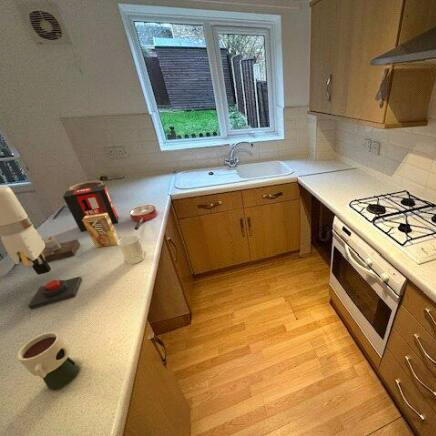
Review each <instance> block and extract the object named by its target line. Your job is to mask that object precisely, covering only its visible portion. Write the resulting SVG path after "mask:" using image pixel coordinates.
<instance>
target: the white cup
mask: <svg viewBox="0 0 436 436" xmlns="http://www.w3.org/2000/svg"><path fill="white" fill-rule="evenodd" d="M116 245H117V246H118V249H119V250H120V252H121V254H122V255H123V257H124V259H125V261H126V263H128V265H129V264H130V265H133V264H138V263H141V262H142V261H143V260H144V259H145V253H144V248H143V245H142V241H141V239H140V236H139V235H138V234H130V235H125V236H123V237H121V238H119V240H118V242H117V244H116Z"/></svg>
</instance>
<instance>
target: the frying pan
mask: <svg viewBox="0 0 436 436" xmlns="http://www.w3.org/2000/svg"><path fill="white" fill-rule="evenodd" d="M129 215H130V219H131V220H132V221H133V222H136V225H135V227H134V230H135V231H139V229H140V227H141V225H142V223H143V222H147V221H151V220H153V219H154V218H156V217H157V215H158V212H157V209H156V207H155V205H148V204H147V205H140V206H137V207H135V208H132V209H131V210H130V211H129Z"/></svg>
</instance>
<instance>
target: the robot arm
mask: <svg viewBox="0 0 436 436" xmlns="http://www.w3.org/2000/svg"><path fill="white" fill-rule="evenodd" d="M0 240H1V242H2V244H3V247H4V249H5V250H6V253H7V254H8V256H9V257H10V258H11V260H12V261H13V263H14V264H15V265H20V264H21V263H23V265H24V267H25V268H28V267H32V269H33V270H34V271H35V273H36V275H38V276H39V275H44V274H49V273H50V272H51V270H52V268H51V266H50V264H49V262H47V261H46V260H45V256H44V254H43V250H44V248H45V243H44V241H43V240H44V239H43V238H42V236H41V235H40V234H39V232H38V230H37V229H36V228H35V227H34V224H33V222H32V220H31V218H30V217H29V216H28V214H27V212H26V211H25V208H24V206H22V204H21V202H20V201H19V199H18V198H17V196H16V194H15V193H14V191H13V189H12V188H11V187H9V186H8V185H5V184H0Z"/></svg>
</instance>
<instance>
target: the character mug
mask: <svg viewBox="0 0 436 436" xmlns="http://www.w3.org/2000/svg"><path fill="white" fill-rule="evenodd" d="M70 354H71V351H70V348H69V346H68V345H66V344H65V342H64V339H63V337H61V336H60V334H59V333H57V332H55V331H48V332H44V333H41V334H39V335H37V336H34V337H33V338H31V339H30V340H29V341H27V342H26V343H25V344H23V346H21V347H20V349H19V350H18V351H17V353H16V358H17V360H18V361H19V362H20V363H21V364H22V366H24V368H25V369H26V370H27V371H28V372H29V373H30V374H31V375H33V376H34V377H39V378H41V379H42V380H43V382H44V383H45V385H46V387H47V389H48V390H56V389H59V388H62V387H64V386H66V385H68V384H70V383H71V382H72V381H73V380H74V379H75V378H76V377H77V375H78V374H79V372H80V370H79V369H78V368H80V365H78V364H77V362H76V361H74V360H73V359H72V358H71V357H70ZM77 367H78V368H77Z"/></svg>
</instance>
